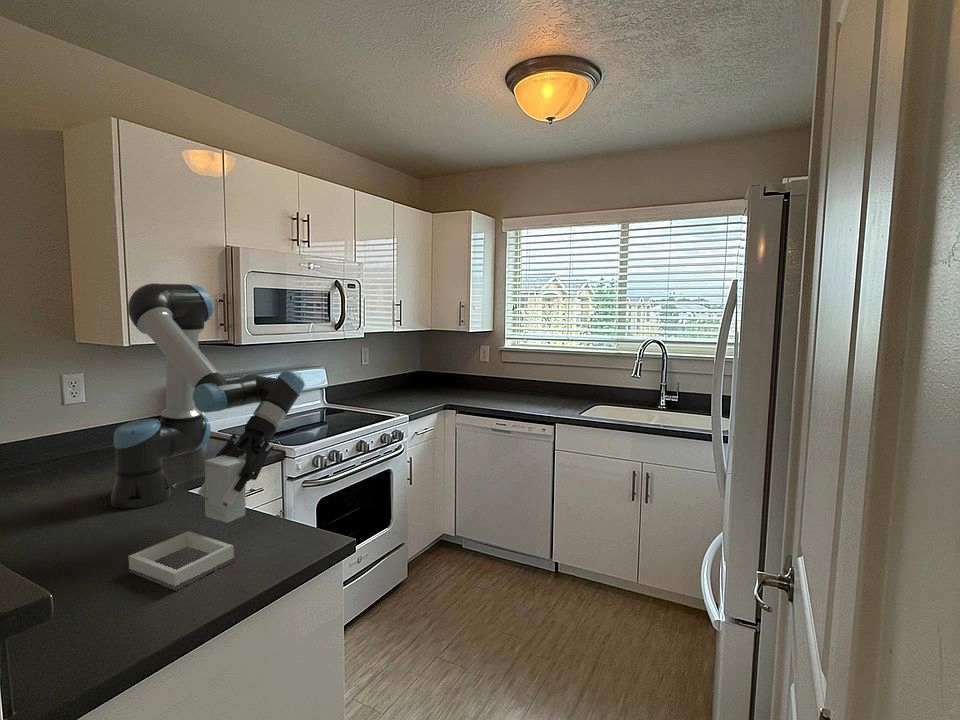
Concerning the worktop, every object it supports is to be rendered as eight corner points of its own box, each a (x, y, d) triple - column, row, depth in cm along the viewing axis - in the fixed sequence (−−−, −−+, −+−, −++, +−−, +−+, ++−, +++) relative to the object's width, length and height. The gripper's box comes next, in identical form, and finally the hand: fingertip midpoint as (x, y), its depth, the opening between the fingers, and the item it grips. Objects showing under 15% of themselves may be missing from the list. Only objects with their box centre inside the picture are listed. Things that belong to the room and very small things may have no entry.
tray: (129, 573, 115) (128, 556, 115) (189, 546, 128) (188, 531, 127) (175, 591, 108) (174, 573, 108) (234, 561, 121) (233, 545, 120)
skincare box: (204, 517, 132) (201, 460, 130) (225, 508, 137) (222, 453, 135) (228, 523, 128) (225, 465, 127) (248, 514, 134) (246, 458, 132)
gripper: (301, 434, 139) (252, 514, 127) (246, 424, 149) (196, 497, 136) (285, 419, 134) (233, 500, 122) (229, 409, 143) (176, 484, 131)
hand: (213, 498), depth 129 cm, fingers closed on skincare box, 8 cm apart
